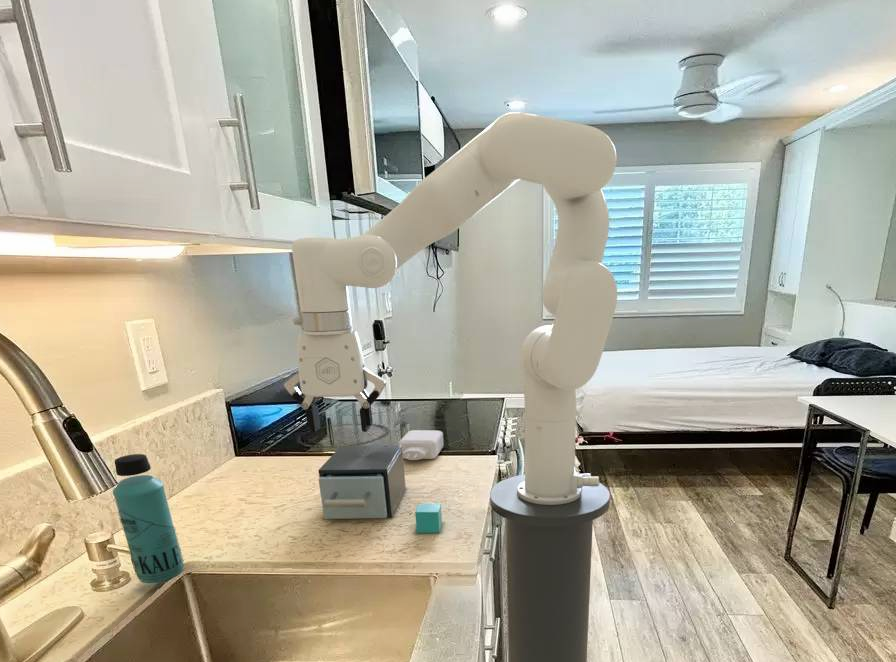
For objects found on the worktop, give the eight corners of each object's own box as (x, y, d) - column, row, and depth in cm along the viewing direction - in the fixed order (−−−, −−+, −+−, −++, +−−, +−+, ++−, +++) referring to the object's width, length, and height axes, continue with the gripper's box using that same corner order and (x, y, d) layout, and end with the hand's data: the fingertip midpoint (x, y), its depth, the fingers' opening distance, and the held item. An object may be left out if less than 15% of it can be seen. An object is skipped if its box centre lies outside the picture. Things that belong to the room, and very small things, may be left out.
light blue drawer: (380, 529, 99) (375, 488, 96) (315, 530, 100) (309, 489, 97) (399, 490, 116) (396, 454, 114) (344, 491, 117) (339, 455, 114)
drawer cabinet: (392, 517, 106) (387, 469, 103) (325, 518, 107) (318, 470, 103) (405, 488, 120) (401, 445, 116) (346, 489, 120) (340, 446, 117)
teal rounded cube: (442, 523, 103) (440, 502, 102) (439, 532, 100) (438, 512, 98) (420, 523, 104) (418, 503, 102) (416, 533, 100) (415, 512, 98)
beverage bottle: (158, 570, 90) (124, 449, 82) (197, 571, 89) (166, 449, 81) (128, 592, 84) (89, 463, 76) (170, 594, 83) (135, 464, 75)
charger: (392, 467, 133) (408, 447, 146) (430, 468, 132) (444, 448, 145) (390, 448, 131) (407, 430, 145) (429, 448, 130) (442, 430, 144)
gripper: (263, 326, 87) (282, 437, 93) (376, 324, 86) (387, 435, 93) (282, 322, 94) (298, 425, 100) (386, 319, 93) (396, 423, 100)
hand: (341, 429), depth 97 cm, fingers open, 8 cm apart
